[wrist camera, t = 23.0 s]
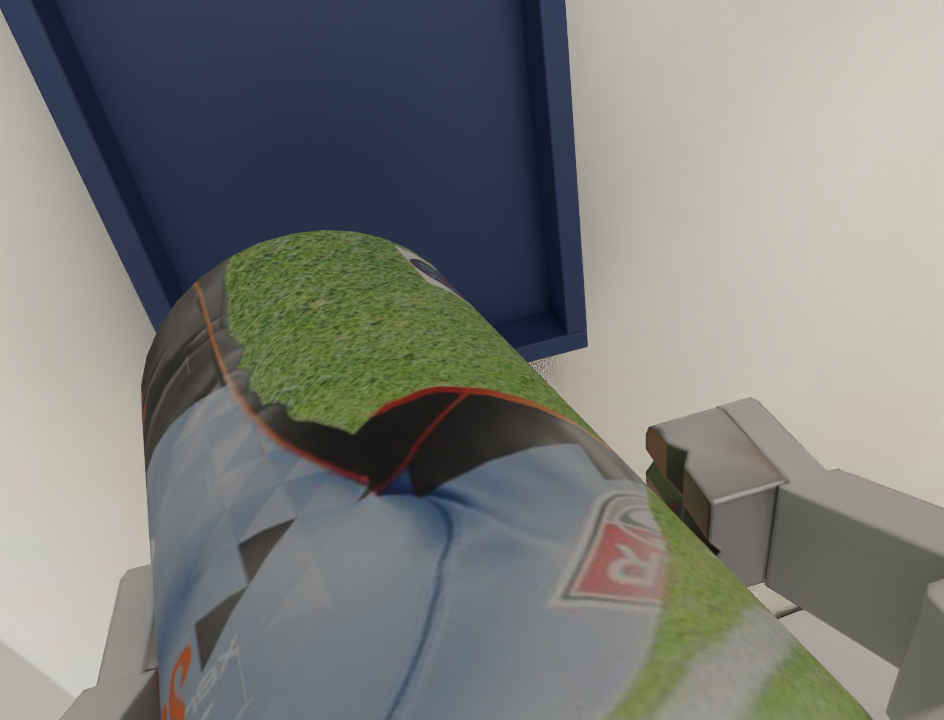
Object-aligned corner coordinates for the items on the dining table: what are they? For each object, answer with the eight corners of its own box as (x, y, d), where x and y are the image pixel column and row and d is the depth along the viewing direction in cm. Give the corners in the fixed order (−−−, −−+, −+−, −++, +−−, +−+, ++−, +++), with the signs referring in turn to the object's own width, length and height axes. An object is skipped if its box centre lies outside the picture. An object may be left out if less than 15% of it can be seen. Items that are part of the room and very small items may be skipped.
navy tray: (567, 316, 30) (588, 347, 28) (214, 406, 28) (209, 446, 26) (521, -226, 20) (550, -239, 18) (-31, -132, 18) (-70, -135, 16)
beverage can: (75, 306, 12) (-621, 1919, 2) (460, 113, 12) (1322, 976, 2) (271, 524, 16) (303, 1524, 6) (567, 376, 16) (1084, 1146, 6)
